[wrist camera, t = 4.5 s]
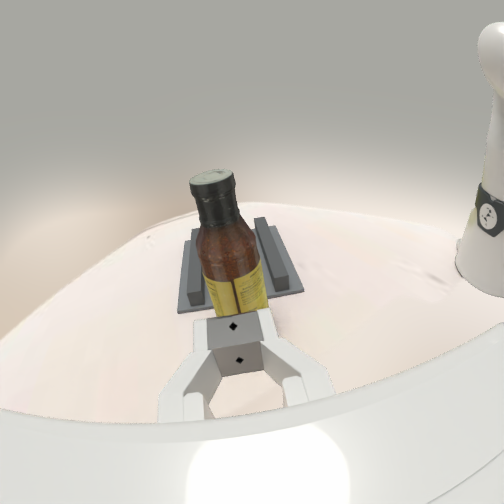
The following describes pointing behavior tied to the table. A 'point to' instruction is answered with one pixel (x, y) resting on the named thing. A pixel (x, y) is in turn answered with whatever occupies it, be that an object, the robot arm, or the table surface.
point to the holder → (272, 260)
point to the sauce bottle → (227, 246)
